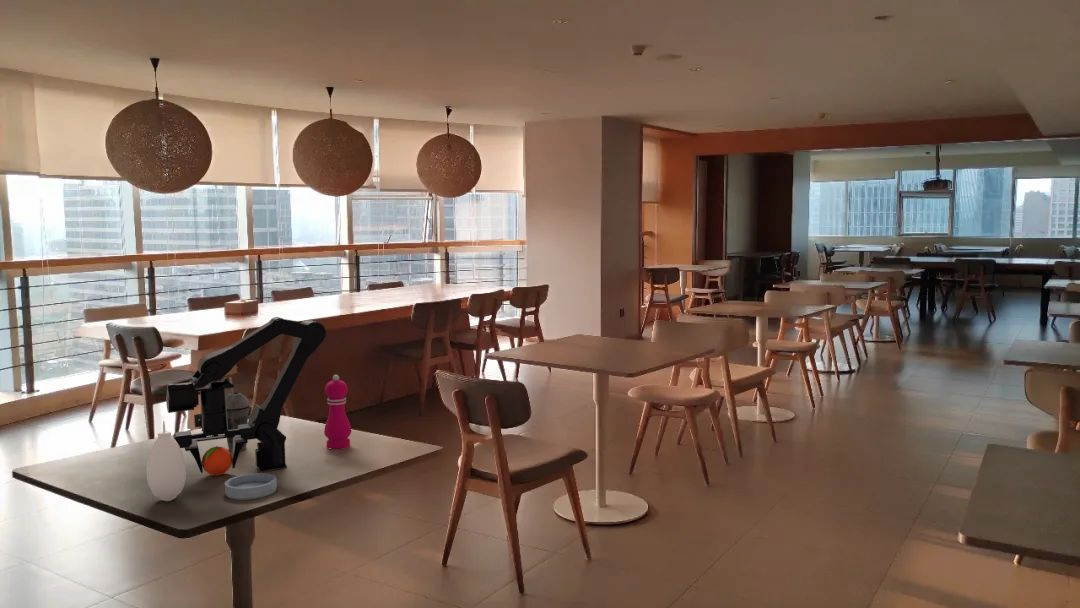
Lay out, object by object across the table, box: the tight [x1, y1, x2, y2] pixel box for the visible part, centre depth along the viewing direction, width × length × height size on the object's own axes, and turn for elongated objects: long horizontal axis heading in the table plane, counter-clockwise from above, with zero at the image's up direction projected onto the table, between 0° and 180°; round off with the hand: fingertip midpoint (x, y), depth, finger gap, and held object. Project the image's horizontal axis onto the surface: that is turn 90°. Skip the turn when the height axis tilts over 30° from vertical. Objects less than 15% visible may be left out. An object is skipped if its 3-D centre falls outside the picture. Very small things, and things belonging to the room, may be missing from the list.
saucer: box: [224, 472, 278, 501], centre depth 187 cm, size 11×11×3 cm
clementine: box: [201, 445, 232, 476], centre depth 199 cm, size 8×7×7 cm
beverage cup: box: [226, 376, 251, 452], centre depth 222 cm, size 7×7×20 cm
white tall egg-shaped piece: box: [146, 420, 187, 502], centre depth 181 cm, size 8×8×18 cm
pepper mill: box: [323, 374, 352, 450], centre depth 223 cm, size 7×7×20 cm
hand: (217, 470), depth 200 cm, fingers closed on clementine, 7 cm apart
